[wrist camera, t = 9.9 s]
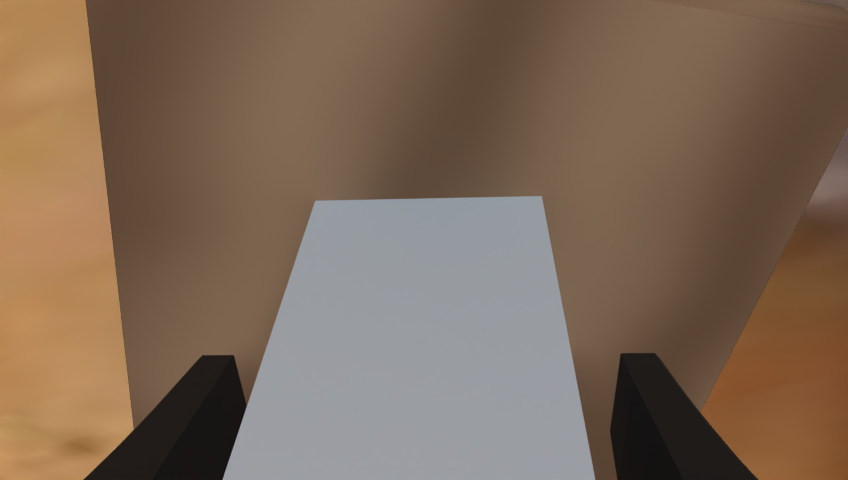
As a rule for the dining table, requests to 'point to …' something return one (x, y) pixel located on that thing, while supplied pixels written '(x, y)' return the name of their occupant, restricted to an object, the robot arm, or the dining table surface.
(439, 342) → the blue-grey block
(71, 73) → the dining table surface
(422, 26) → the walnut board
